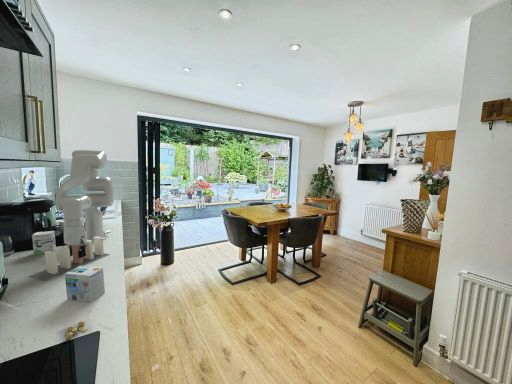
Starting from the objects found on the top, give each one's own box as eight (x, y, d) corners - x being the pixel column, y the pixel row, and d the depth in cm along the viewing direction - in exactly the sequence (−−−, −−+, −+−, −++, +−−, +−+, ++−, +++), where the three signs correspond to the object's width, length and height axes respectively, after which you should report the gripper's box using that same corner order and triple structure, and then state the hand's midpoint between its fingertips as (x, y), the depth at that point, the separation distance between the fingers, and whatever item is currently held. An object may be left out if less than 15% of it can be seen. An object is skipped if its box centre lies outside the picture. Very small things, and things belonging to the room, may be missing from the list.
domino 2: (64, 265, 108) (62, 246, 107) (71, 267, 107) (69, 248, 105) (60, 267, 107) (58, 247, 105) (67, 268, 105) (65, 249, 104)
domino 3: (87, 256, 118) (85, 239, 117) (94, 258, 117) (92, 240, 116) (84, 258, 117) (82, 240, 116) (90, 259, 115) (89, 241, 114)
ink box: (33, 255, 120) (30, 235, 119) (36, 252, 124) (34, 232, 123) (54, 252, 124) (51, 232, 123) (56, 249, 129) (54, 230, 127)
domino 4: (97, 253, 124) (96, 236, 122) (103, 254, 122) (102, 237, 121) (94, 254, 122) (93, 237, 121) (101, 255, 121) (99, 238, 119)
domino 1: (51, 270, 103) (48, 250, 102) (58, 272, 101) (56, 252, 100) (47, 272, 101) (44, 252, 100) (54, 274, 100) (51, 253, 99)
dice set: (66, 343, 63) (65, 337, 63) (64, 333, 67) (63, 327, 67) (88, 333, 67) (87, 327, 67) (85, 324, 70) (84, 319, 70)
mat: (95, 252, 126) (95, 251, 126) (110, 255, 122) (110, 254, 122) (28, 277, 98) (28, 276, 98) (45, 282, 94) (45, 281, 94)
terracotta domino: (76, 261, 113) (74, 242, 112) (83, 262, 112) (81, 244, 110) (73, 262, 112) (71, 243, 110) (79, 263, 110) (78, 245, 109)
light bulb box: (66, 300, 82) (63, 273, 81) (82, 289, 89) (80, 265, 87) (91, 303, 81) (88, 275, 79) (105, 292, 87) (103, 267, 86)
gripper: (54, 222, 108) (57, 256, 110) (78, 226, 103) (81, 261, 105) (70, 219, 115) (74, 251, 117) (94, 222, 110) (96, 255, 112)
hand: (77, 255), depth 111 cm, fingers open, 6 cm apart
